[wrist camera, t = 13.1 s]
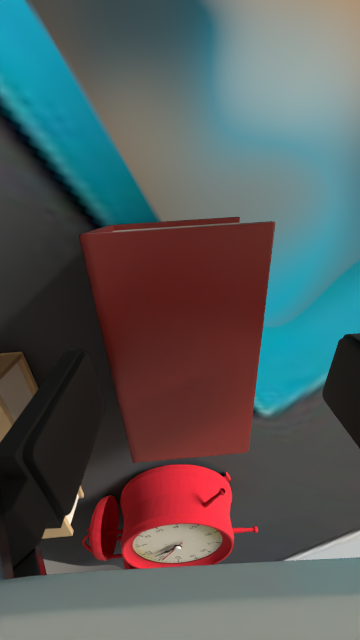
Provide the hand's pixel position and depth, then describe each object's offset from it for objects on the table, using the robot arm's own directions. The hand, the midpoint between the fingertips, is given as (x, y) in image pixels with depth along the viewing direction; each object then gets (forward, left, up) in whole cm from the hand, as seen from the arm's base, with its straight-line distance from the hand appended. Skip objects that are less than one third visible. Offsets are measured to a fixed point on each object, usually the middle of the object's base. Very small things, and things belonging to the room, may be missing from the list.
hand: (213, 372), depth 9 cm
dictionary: (+1, -1, -6) cm, 6 cm away
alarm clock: (+20, -4, -6) cm, 21 cm away
